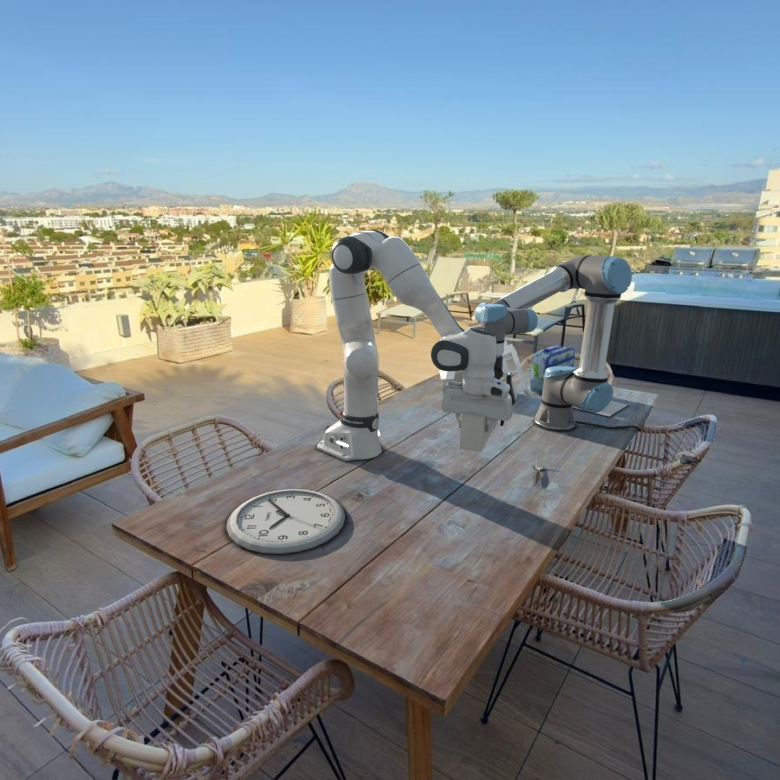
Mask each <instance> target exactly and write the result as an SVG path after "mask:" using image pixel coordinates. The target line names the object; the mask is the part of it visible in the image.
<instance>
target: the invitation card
mask: <svg viewBox="0 0 780 780" xmlns="http://www.w3.org/2000/svg"><path fill="white" fill-rule="evenodd" d="M628 406H629V404H627V403H623V402H618V401H614V400H611V401H610V403H609V404H608V405H607V406H606V407H605V409H603V410H602V411H600V412H597V413H595V414H596V415H600V416H604V417H608V418H609V417H611V416H613V415H614V414H616V413H617V412H619V411H621V410H623V409H624V408H626V407H628ZM573 409H575V410H581V411H583V410H582V409H580V408H577V407H575V406H573Z"/></svg>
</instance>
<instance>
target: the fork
mask: <svg viewBox="0 0 780 780" xmlns="http://www.w3.org/2000/svg"><path fill="white" fill-rule="evenodd" d="M534 468H535V469H536V470H537V472H536V473H535V484H537V483H538V480H539V478H540V476H541V474H540V470H543V469H545V461H543V459H541V458H539V459H538V457H537V458H536V462H535V467H534Z"/></svg>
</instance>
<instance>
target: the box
mask: <svg viewBox="0 0 780 780" xmlns="http://www.w3.org/2000/svg"><path fill="white" fill-rule="evenodd" d="M490 423H491V422H490V418H486V417H484V416H477V415H471V414H462V415H461V428H460V435H459V437H460V439H459V449H460V450H466V451H473V452H477V453H482V452H483V450H484V449H485V446H486V445H487V443H488V441H489V440H490V438H491V437H492V434H494V431H495V429H496V427H497V426H498V424H499V420H497V419H496V420H495V422H494V424H493V425H492V426H491V432H490V433H489V432H485V426H486V425H489V424H490Z"/></svg>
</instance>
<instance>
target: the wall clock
mask: <svg viewBox="0 0 780 780" xmlns="http://www.w3.org/2000/svg"><path fill="white" fill-rule="evenodd" d="M345 520H346V515H345V511H344V508H343V507H342V505H341V504H340V503H339V502H338V501H337V500H336V499H334V498H333V497H331V496H329V495H327V494H324V493H322V492H319V491H315V490H309V489H298V488H297V489H295V488H292V489H289V488H288V489H280V490H279V489H278V490H274V491H270V492H269V491H268V492H265V493H262V494H260V495H257V496H254V497H252V498H250V499H248V500H246V501H245V502H243V503H241V504H240V505H239V506H237V508H236V509H234V510H233V511H232V512H231V514H230V516H229V517H228V519H227V522H226V531H227V534H228V537H229V538H230V539H231V540H232V541H233V542H234V543H235V544H236V545H238V546H240V547H242V548H244V549H246V550H248V551H253V552H256V553H261V554H271V555H273V554H274V555H281V554H282V555H283V554H291V553H300V552H303V551H306V550H311V549H314V548H316V547H318V546H320V545H322V544H325V543H328V541H330V540H332V538H334V537H335V536H336V535H338V533H339V532H340V531H341V530H342V528H343V527H344V524H345Z"/></svg>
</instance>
